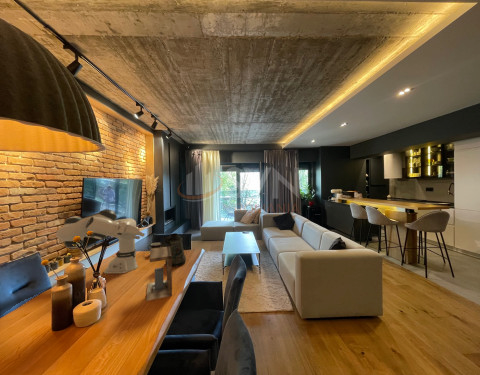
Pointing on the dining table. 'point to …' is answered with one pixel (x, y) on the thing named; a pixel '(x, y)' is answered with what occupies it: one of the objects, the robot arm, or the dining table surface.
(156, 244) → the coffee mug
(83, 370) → the dining table surface
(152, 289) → the overhang shelf
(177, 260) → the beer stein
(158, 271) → the grey upright block
